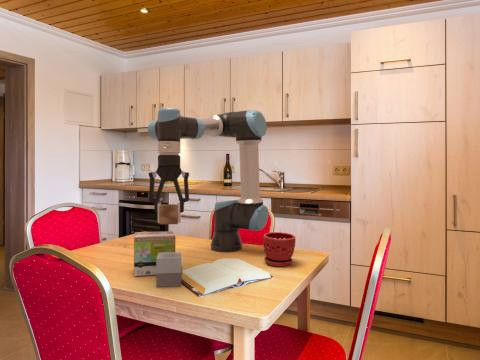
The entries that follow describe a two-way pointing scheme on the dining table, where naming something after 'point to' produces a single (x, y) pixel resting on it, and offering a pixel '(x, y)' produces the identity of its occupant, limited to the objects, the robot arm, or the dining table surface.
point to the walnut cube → (168, 214)
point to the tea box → (150, 250)
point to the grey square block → (168, 262)
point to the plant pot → (279, 248)
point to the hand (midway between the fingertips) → (169, 221)
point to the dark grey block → (168, 279)
